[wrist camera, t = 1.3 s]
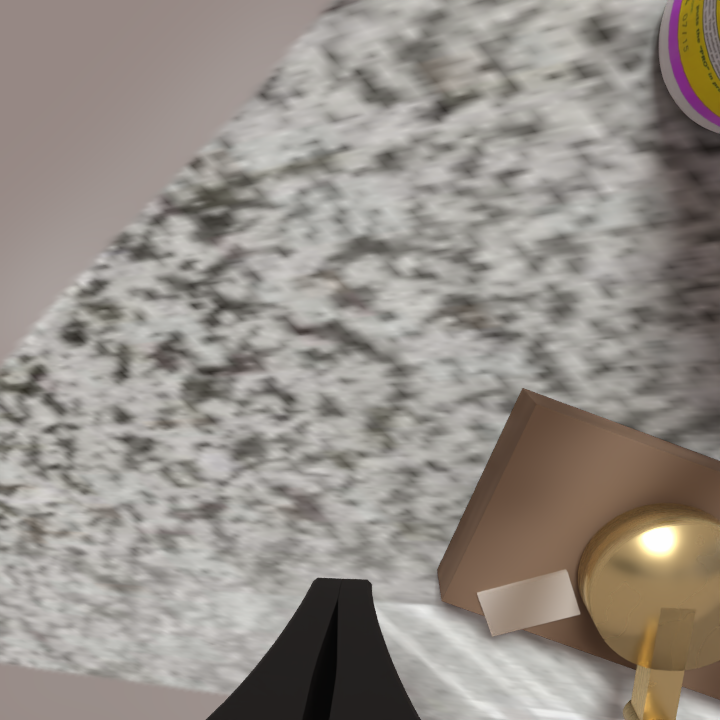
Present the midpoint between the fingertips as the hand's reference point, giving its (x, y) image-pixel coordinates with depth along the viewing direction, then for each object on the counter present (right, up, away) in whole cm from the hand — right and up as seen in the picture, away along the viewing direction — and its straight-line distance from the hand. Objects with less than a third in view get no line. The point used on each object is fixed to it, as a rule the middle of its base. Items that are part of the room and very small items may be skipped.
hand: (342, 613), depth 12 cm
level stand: (+12, -1, +9) cm, 15 cm away
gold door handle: (+12, -4, +8) cm, 15 cm away
